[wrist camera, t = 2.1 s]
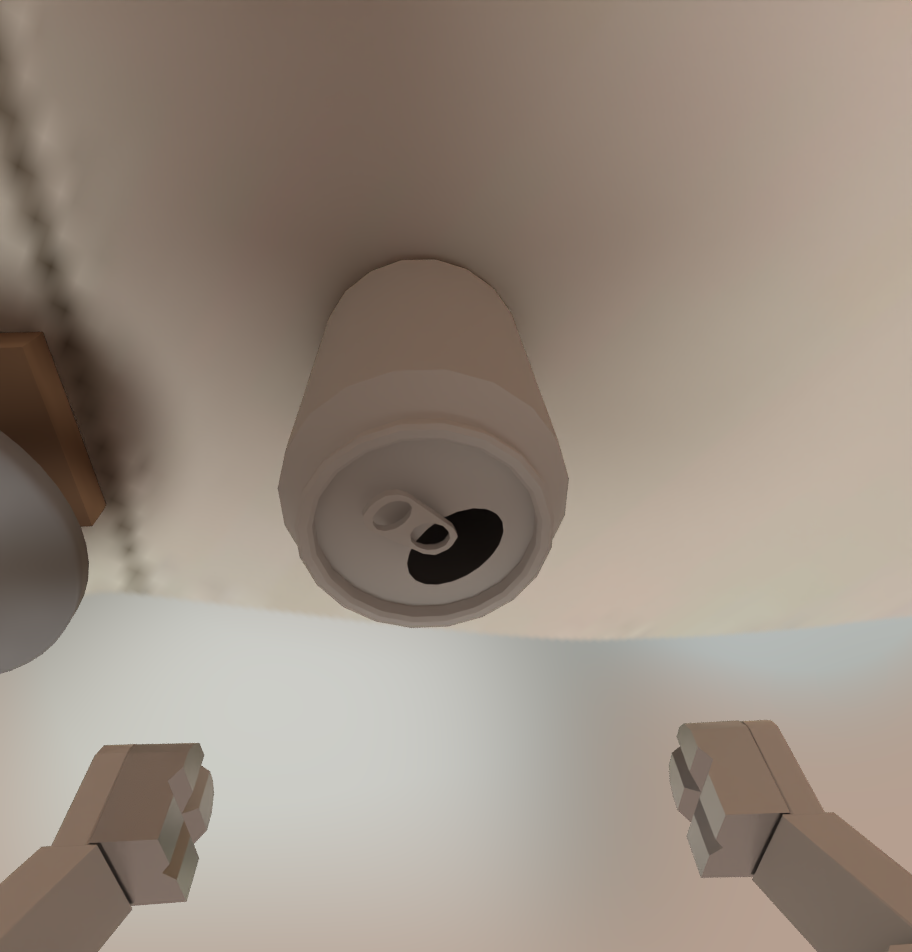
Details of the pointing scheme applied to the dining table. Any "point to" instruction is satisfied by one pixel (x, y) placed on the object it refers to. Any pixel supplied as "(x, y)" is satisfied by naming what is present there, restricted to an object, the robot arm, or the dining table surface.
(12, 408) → the scale
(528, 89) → the dining table surface
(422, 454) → the can
